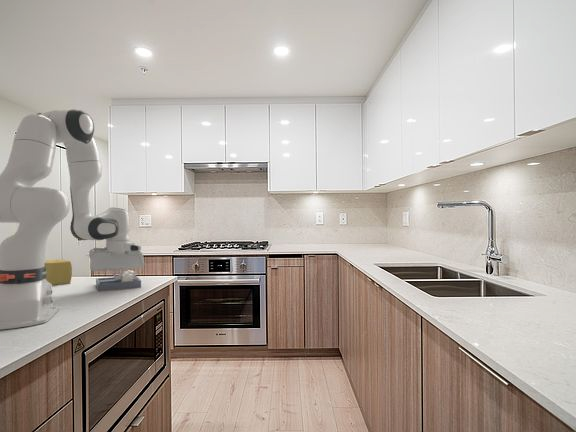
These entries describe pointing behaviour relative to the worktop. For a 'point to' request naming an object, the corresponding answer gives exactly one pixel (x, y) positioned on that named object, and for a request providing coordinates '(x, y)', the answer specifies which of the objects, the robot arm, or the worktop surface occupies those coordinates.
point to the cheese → (58, 271)
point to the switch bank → (116, 284)
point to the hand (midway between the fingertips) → (117, 280)
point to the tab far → (130, 273)
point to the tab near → (127, 277)
